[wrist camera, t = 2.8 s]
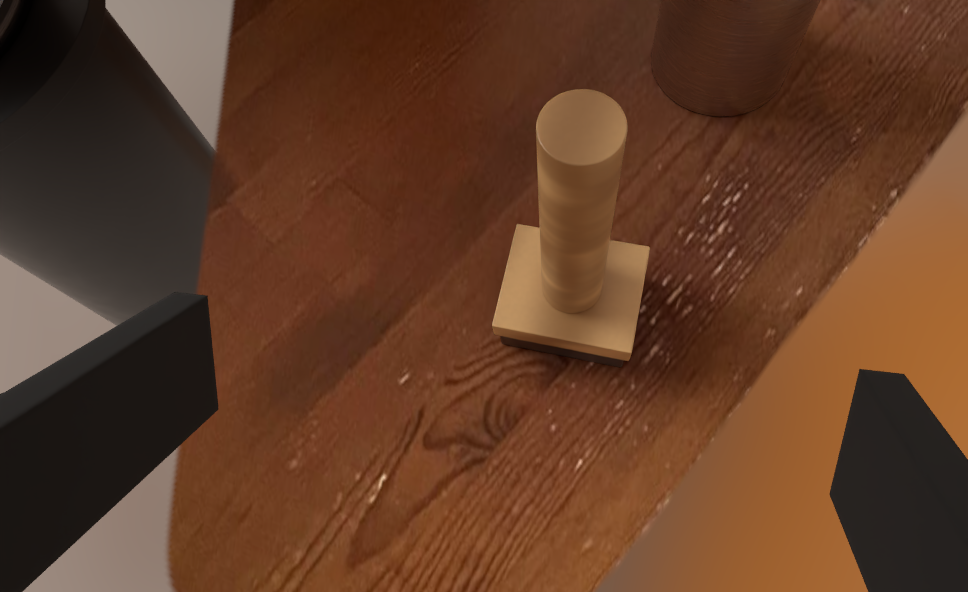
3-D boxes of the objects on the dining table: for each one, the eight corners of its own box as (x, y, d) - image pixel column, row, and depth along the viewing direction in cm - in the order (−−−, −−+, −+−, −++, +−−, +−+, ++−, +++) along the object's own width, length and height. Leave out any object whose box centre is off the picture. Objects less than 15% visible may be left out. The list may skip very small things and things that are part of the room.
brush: (496, 347, 35) (459, 184, 21) (519, 251, 37) (498, 42, 23) (625, 373, 34) (675, 220, 20) (642, 273, 36) (699, 69, 22)
